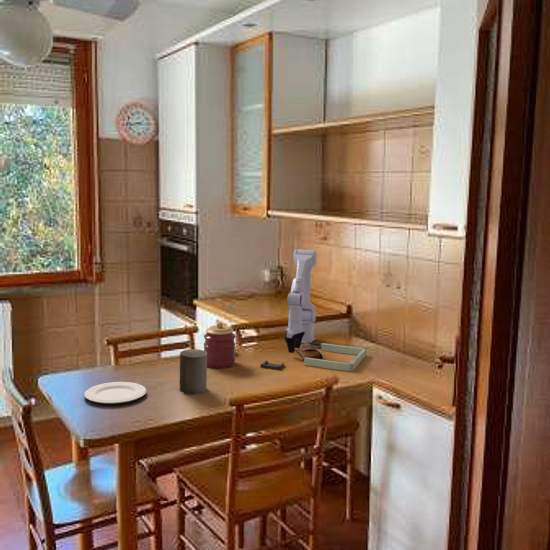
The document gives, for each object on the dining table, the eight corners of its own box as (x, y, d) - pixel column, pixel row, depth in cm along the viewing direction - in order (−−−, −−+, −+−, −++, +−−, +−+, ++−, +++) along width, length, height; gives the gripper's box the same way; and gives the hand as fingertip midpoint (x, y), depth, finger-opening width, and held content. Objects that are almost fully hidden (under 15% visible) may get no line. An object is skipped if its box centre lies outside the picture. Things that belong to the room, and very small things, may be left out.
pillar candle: (176, 393, 214) (177, 352, 212) (182, 384, 224) (183, 344, 221) (204, 395, 214) (204, 353, 211) (208, 385, 223) (209, 346, 221)
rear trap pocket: (306, 344, 281) (306, 341, 281) (323, 346, 278) (323, 343, 278) (303, 347, 277) (303, 344, 276) (319, 349, 274) (320, 346, 274)
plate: (75, 393, 212) (75, 388, 212) (131, 382, 225) (131, 377, 224) (98, 412, 196) (98, 407, 196) (157, 399, 208) (156, 394, 208)
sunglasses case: (291, 349, 272) (298, 336, 273) (303, 356, 275) (311, 343, 275) (304, 361, 255) (312, 347, 255) (317, 368, 258) (325, 354, 258)
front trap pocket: (266, 363, 251) (266, 360, 251) (284, 365, 248) (284, 363, 248) (260, 367, 246) (260, 364, 245) (279, 370, 243) (279, 367, 243)
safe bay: (321, 349, 273) (322, 343, 273) (366, 355, 266) (366, 348, 265) (303, 365, 250) (304, 358, 249) (351, 371, 243) (352, 364, 242)
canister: (215, 371, 240) (215, 327, 237) (197, 363, 249) (197, 321, 247) (241, 365, 248) (242, 322, 245) (223, 357, 258) (223, 316, 255)
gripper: (292, 315, 270) (291, 345, 272) (280, 322, 257) (279, 353, 259) (307, 317, 268) (306, 347, 270) (296, 324, 254) (295, 355, 256)
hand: (294, 350), depth 264 cm, fingers open, 7 cm apart
